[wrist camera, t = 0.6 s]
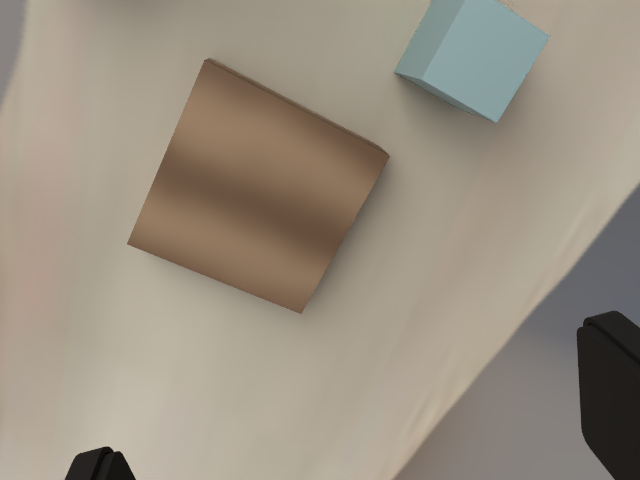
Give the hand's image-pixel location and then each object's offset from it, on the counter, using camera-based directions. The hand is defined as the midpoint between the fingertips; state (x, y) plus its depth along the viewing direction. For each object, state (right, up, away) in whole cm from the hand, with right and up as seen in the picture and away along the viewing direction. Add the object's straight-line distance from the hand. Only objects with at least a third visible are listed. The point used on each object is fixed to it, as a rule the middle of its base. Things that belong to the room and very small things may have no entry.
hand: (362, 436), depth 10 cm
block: (+7, +16, +22) cm, 28 cm away
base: (-5, +7, +24) cm, 25 cm away
